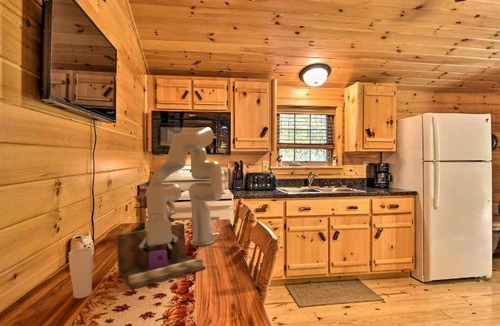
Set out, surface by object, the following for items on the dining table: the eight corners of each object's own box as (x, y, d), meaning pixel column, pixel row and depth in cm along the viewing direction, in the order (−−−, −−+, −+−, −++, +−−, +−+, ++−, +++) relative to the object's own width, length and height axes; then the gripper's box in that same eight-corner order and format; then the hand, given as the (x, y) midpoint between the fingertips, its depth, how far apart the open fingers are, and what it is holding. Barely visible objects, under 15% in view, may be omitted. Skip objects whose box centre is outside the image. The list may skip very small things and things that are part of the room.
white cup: (77, 291, 101) (74, 248, 101) (97, 290, 102) (95, 247, 102) (66, 301, 95) (64, 254, 94) (88, 299, 95) (86, 253, 95)
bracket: (167, 268, 114) (166, 250, 114) (149, 271, 112) (148, 253, 112) (166, 258, 126) (165, 242, 125) (149, 260, 123) (148, 244, 123)
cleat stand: (184, 255, 134) (182, 223, 134) (205, 268, 117) (203, 231, 117) (118, 271, 118) (116, 234, 118) (131, 289, 101) (129, 246, 101)
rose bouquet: (156, 240, 163) (154, 186, 162) (123, 235, 178) (121, 185, 178) (189, 229, 185) (186, 182, 184) (157, 225, 200) (155, 181, 199)
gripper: (174, 212, 127) (176, 253, 128) (132, 218, 117) (135, 263, 118) (181, 214, 121) (183, 257, 122) (137, 221, 111) (140, 268, 111)
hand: (159, 260), depth 120 cm, fingers closed on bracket, 6 cm apart
